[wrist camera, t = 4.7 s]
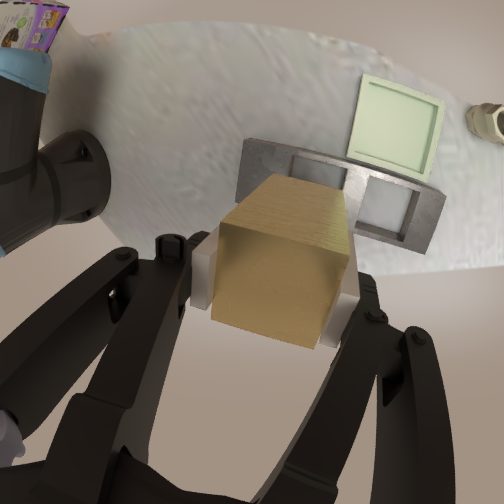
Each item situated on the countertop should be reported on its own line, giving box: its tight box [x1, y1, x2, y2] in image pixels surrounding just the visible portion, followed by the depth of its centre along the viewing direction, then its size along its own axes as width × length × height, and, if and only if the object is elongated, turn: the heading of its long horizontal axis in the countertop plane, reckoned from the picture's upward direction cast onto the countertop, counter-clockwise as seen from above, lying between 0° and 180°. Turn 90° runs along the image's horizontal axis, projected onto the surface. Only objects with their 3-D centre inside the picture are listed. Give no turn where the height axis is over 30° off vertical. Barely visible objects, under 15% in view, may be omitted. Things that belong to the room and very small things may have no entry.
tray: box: [346, 73, 445, 183], centre depth 24 cm, size 9×9×2 cm
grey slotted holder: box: [235, 138, 446, 255], centre depth 28 cm, size 22×7×2 cm, turn 81°
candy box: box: [0, 0, 70, 53], centre depth 21 cm, size 14×6×16 cm, turn 140°
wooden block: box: [211, 173, 350, 349], centre depth 16 cm, size 5×5×10 cm
